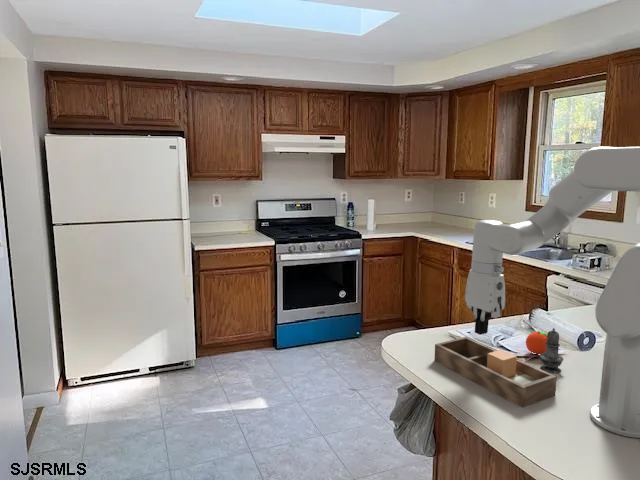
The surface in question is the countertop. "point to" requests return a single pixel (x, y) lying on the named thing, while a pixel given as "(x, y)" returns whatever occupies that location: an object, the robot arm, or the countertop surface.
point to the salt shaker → (551, 354)
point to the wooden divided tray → (473, 365)
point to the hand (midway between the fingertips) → (481, 332)
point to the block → (502, 363)
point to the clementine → (537, 342)
